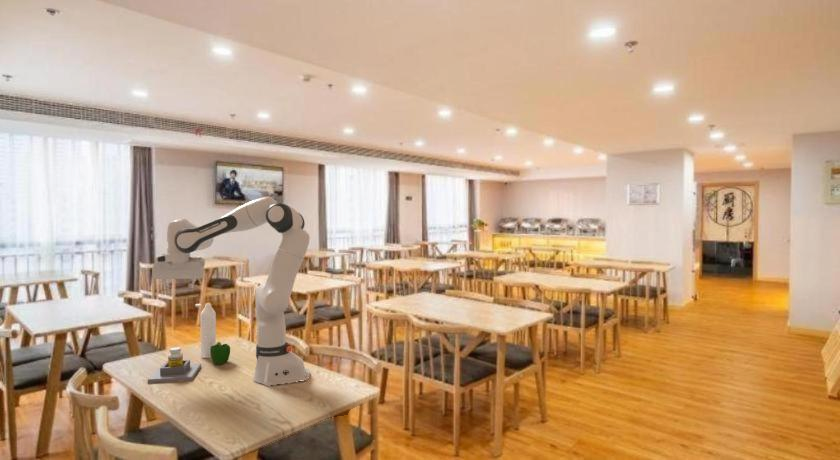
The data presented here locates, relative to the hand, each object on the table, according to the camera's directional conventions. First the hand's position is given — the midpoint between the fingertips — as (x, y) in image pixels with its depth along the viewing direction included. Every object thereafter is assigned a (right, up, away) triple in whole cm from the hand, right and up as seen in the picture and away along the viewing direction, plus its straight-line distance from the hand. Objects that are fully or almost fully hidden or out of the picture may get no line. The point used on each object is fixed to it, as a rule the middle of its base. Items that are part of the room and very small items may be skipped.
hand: (179, 288), depth 201 cm
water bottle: (+5, -34, +15) cm, 37 cm away
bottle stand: (+3, -35, -8) cm, 36 cm away
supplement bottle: (+3, -33, -8) cm, 34 cm away
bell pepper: (+15, -34, +7) cm, 38 cm away
